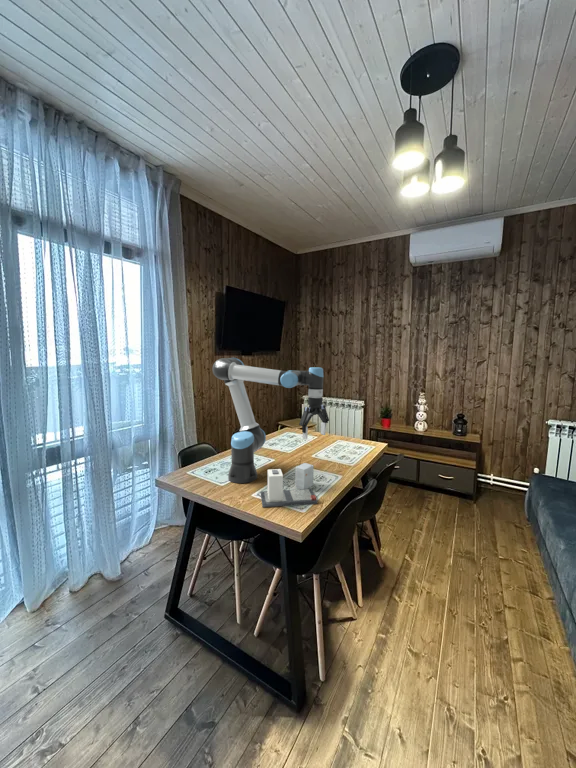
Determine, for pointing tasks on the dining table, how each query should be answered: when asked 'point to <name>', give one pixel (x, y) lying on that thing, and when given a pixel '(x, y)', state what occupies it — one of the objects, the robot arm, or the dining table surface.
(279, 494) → the twin plug
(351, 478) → the dining table surface
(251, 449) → the robot arm
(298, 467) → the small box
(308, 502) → the strip board
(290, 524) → the dining table surface
